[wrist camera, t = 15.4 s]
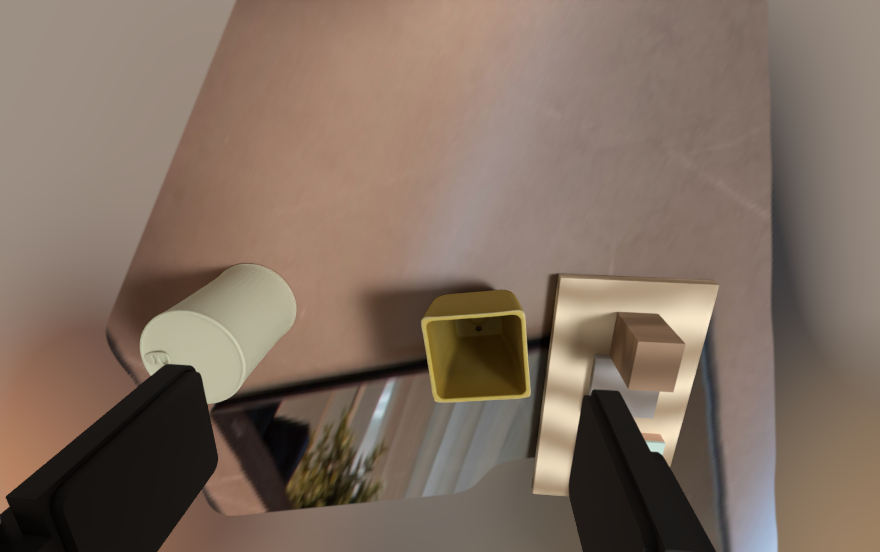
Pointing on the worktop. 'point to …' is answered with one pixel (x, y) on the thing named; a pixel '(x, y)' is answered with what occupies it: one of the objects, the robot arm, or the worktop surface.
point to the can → (222, 328)
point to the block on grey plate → (639, 361)
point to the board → (590, 332)
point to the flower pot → (476, 347)
